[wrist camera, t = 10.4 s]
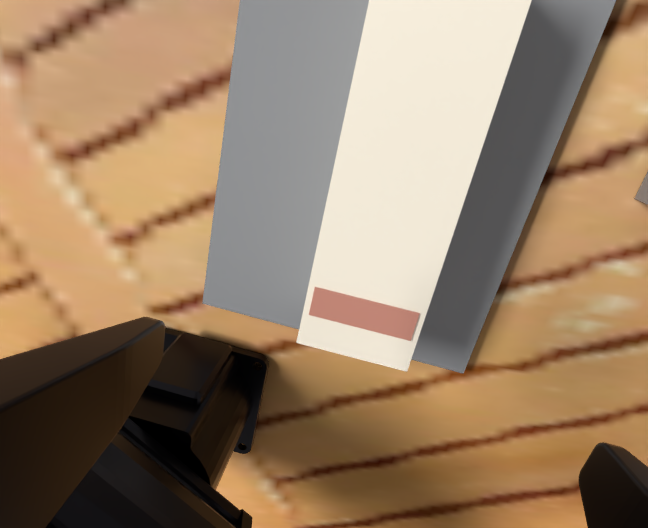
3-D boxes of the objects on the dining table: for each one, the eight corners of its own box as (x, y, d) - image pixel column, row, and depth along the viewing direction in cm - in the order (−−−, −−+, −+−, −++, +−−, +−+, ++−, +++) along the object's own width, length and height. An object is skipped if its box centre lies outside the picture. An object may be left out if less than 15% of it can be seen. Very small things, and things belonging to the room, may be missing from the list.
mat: (461, 366, 22) (463, 373, 21) (207, 298, 22) (202, 303, 22) (625, -39, 15) (634, -45, 15) (260, -116, 16) (255, -124, 15)
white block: (405, 328, 21) (406, 372, 17) (311, 304, 21) (296, 343, 18) (514, -16, 15) (547, -47, 12) (387, -42, 16) (385, -79, 12)
